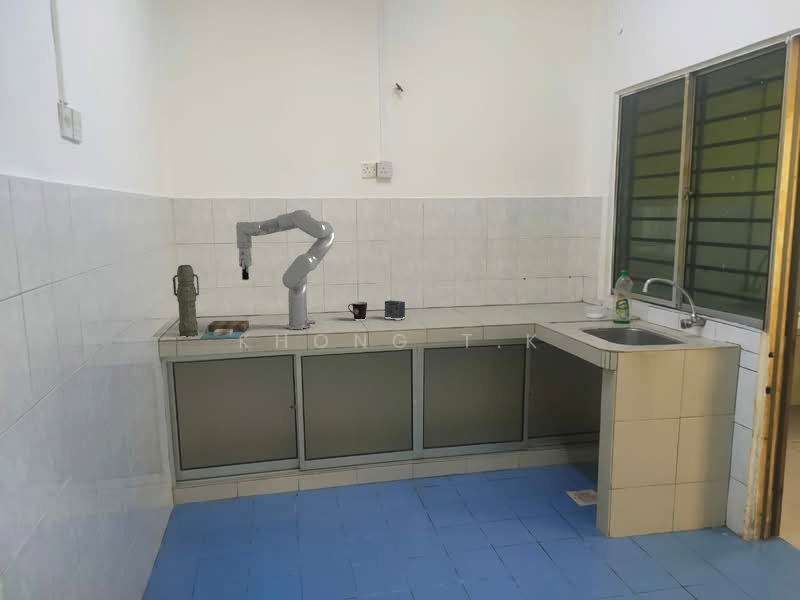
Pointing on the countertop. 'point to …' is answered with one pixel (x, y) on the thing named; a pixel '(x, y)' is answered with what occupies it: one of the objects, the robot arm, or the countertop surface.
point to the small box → (394, 309)
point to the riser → (229, 325)
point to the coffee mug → (359, 309)
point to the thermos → (186, 300)
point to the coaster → (223, 332)
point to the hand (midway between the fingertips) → (245, 279)
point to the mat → (211, 335)
